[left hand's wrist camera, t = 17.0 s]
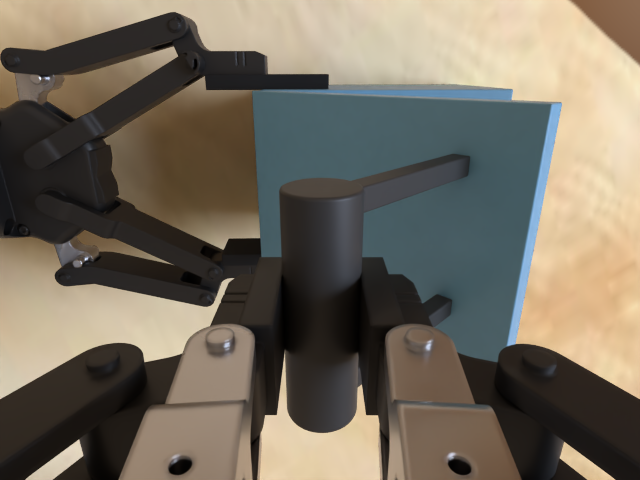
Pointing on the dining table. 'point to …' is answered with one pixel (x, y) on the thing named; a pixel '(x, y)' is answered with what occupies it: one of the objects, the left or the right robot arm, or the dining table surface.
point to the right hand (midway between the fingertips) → (326, 171)
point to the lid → (395, 222)
